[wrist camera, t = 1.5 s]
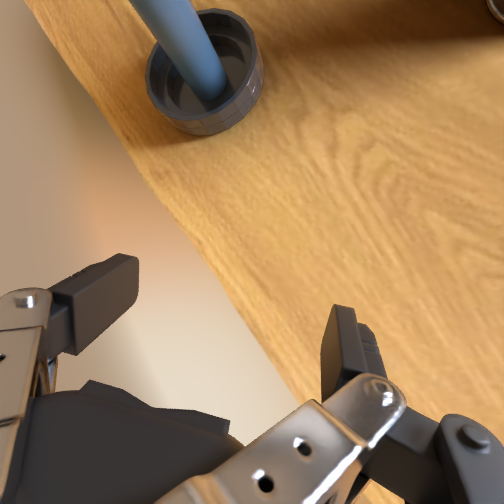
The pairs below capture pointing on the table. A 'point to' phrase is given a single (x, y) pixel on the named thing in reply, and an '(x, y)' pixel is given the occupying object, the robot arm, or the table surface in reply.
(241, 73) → the bowl
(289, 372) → the table surface
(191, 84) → the canister
